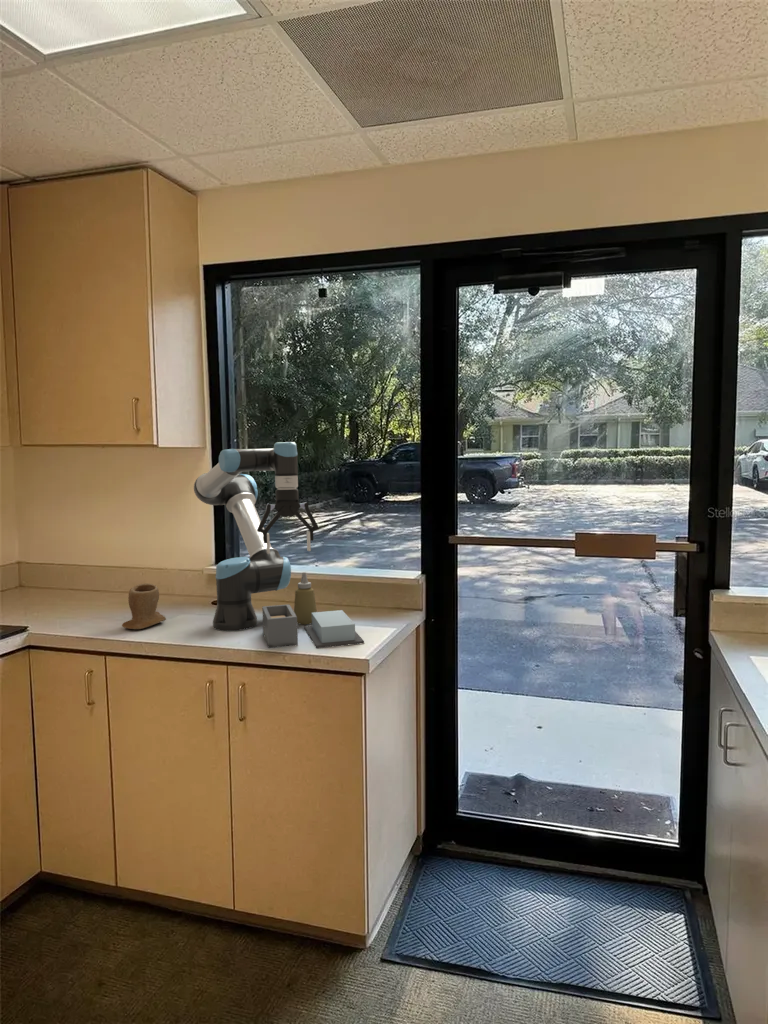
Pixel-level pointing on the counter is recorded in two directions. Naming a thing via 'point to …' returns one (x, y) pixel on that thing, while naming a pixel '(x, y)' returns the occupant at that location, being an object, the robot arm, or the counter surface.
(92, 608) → the counter surface
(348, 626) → the block
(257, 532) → the robot arm
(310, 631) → the mat
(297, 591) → the squeeze bottle
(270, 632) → the storage box
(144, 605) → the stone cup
